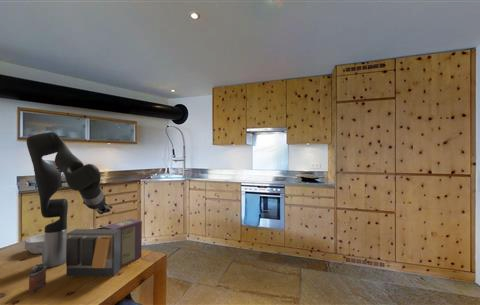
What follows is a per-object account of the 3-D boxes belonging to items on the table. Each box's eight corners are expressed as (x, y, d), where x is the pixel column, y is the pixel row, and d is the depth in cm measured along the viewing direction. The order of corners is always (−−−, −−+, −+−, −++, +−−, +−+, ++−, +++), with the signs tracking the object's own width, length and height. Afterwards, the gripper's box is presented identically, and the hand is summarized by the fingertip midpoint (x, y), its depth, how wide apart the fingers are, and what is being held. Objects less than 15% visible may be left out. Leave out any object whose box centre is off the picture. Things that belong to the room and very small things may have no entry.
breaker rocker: (91, 267, 104) (96, 238, 108) (94, 267, 107) (100, 238, 111) (102, 267, 104) (107, 238, 108) (106, 267, 107) (110, 238, 111)
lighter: (40, 283, 105) (40, 260, 105) (48, 283, 105) (48, 260, 105) (25, 294, 97) (25, 269, 97) (34, 293, 97) (34, 269, 97)
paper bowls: (18, 253, 135) (18, 239, 135) (48, 244, 149) (49, 231, 150) (34, 258, 130) (34, 243, 130) (64, 248, 144) (64, 234, 144)
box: (113, 270, 117) (113, 229, 117) (101, 266, 121) (102, 226, 121) (141, 257, 132) (141, 221, 132) (130, 253, 136) (130, 218, 136)
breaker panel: (62, 278, 108) (63, 234, 109) (75, 269, 117) (75, 229, 117) (111, 279, 109) (111, 235, 109) (120, 270, 117) (120, 229, 117)
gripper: (113, 194, 102) (119, 209, 116) (84, 183, 102) (93, 200, 115) (103, 209, 98) (110, 224, 111) (72, 199, 97) (82, 214, 110)
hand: (101, 212), depth 113 cm, fingers closed
